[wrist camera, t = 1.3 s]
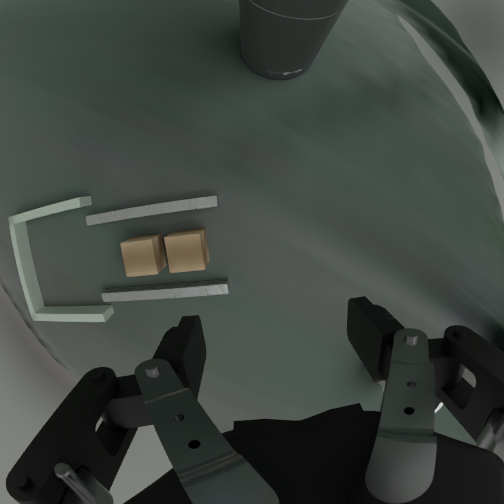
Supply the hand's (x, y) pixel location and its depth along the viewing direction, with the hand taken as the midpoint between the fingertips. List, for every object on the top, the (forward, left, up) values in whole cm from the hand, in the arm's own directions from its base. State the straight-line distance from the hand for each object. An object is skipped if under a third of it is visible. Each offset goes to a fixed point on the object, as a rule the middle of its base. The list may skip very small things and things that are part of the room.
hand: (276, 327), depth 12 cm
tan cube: (0, -8, -22) cm, 23 cm away
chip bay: (0, -28, -22) cm, 35 cm away
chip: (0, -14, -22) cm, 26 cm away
